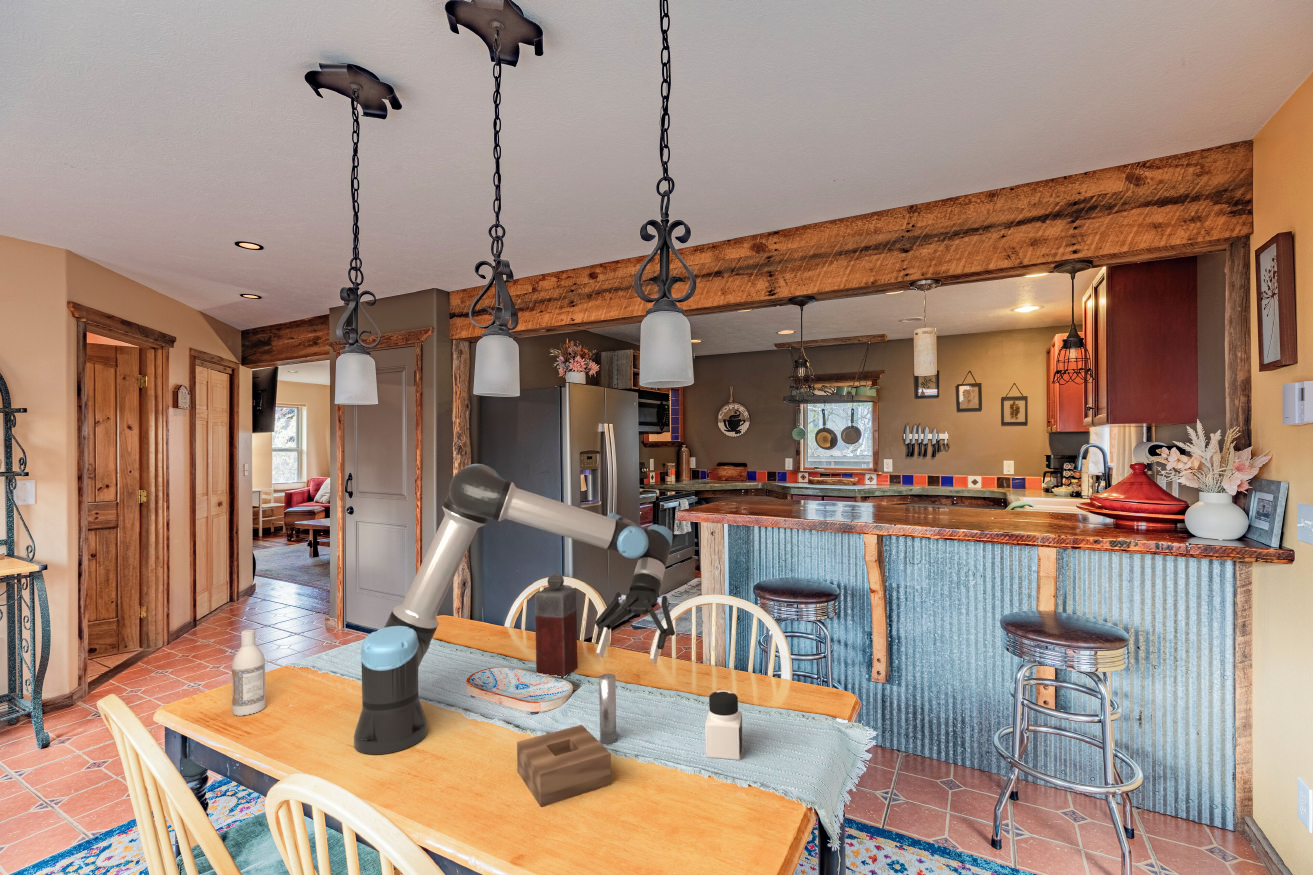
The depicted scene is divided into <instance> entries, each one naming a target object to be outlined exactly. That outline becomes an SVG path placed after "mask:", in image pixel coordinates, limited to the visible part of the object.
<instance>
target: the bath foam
mask: <svg viewBox="0 0 1313 875" xmlns="http://www.w3.org/2000/svg"><path fill="white" fill-rule="evenodd" d="M240 634H241V636H240V637H241V639H240V641H241V642H240V645H241V646H240V648H239V649H238V650H237V652H236V654H235V656H234V657H233V659H232V662H231V663H232V664H231V696H232V697H231V699H232V700H231V702H232V704H231V705H232V706H231V708H232V715H234V716H236V715H237V716H236V717H244V716H243V715H246V716H250V715H249V714H251V715H254V714H253V713H255V714H257V713H259V711H260V712H261V711H263V710H264V709H265V707H266V702H267V701H266V660H265V656H264V653H263V651H262V650H261V649H260V647H258V646H257V644H256V630H255V629H254V628H253V629H245V630H242V631H241V633H240ZM256 712H257V713H256Z"/></svg>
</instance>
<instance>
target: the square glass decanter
mask: <svg viewBox="0 0 1313 875" xmlns="http://www.w3.org/2000/svg"><path fill="white" fill-rule="evenodd" d="M564 582H565V578H564V577H563V575H562V574H561V573H557V572H556V573H553V574H551V575H549V576H548V578H547V586H548V587H546V588H544V589H542V590H540V591H538V592H536V593H535V595H534V606H535V607H534V611H535V612H534V613H535V616H534V618H535V620H534V621H535V671H536V672H538V673H543V674H549V675H557V676H561V677H564V676H566V675H567V674H569V673H571V672H572V673H573V672H574V671H576V670H577V669H579V668H578V628H577V627H578V622H577V621H578V615H577V613H578V612H577V605H578V604H577V589H576V587H571V586H570V587H567V586H563V585H564V584H565V583H564ZM572 673H571V674H572Z"/></svg>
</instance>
